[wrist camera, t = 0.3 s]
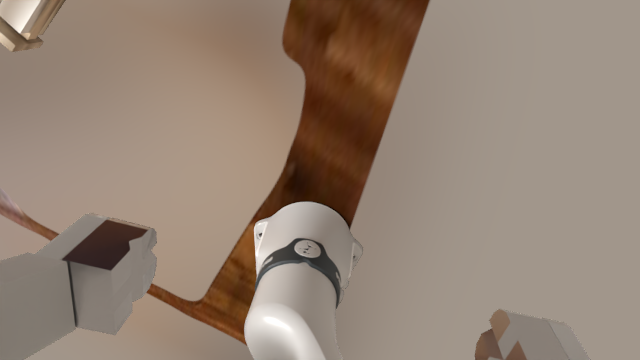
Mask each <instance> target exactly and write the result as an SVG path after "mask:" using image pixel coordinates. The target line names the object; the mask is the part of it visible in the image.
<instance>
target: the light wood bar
mask: <svg viewBox="0 0 640 360" xmlns="http://www.w3.org/2000/svg"><path fill="white" fill-rule="evenodd" d="M64 2H65V0H2V1H1V3H0V16H1V17H2V18H3V19H4V20H5V21H6V22H7V23H8V24H10V25H11V26H12V27H13V28H14V29H15V30H16V31H17V32H18V33H20V34H21V35H22V36H24V37H25V38H26V39H27V40H29V39H36V37H37V36H38V35H42V34H43V33H44V32H45V30H46V29H47V27H48V26H49V24H50V23H51V21H52V20H53V18H54V16H55V15H56V14H57V12H58V11H59V9H60V8H61V6H62V5H63V3H64Z"/></svg>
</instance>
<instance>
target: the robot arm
mask: <svg viewBox="0 0 640 360" xmlns="http://www.w3.org/2000/svg"><path fill="white" fill-rule="evenodd" d="M260 233H262V235H261V234H260ZM254 238H255V253H256V269H257V280H256V284H255V295H254V298H253V301H252V304H251V307H250V310H249V312H248V315H247V318H246V321H245V327H244V333H245V339H246V343H247V345H248V348H249V350H250V352H251V354H252V356H253V358H254V360H343V358H342V356H341V354H340V351H339V348H338V345H337V341H336V327H335V326H336V325H335V318H336V317H335V316H336V309H337V306H338V304H339V303H341V301H342V298H343V295H344V291H343V290H341V288H345V289H346V288H347V287H348V284H349V281H348V280H347V279H348V278H350V277H351V272H352V270H353V269H354V267H355V265H356V263H357V262H358V260H359V259H360V257H361V255H362V252H363V248H362V246H361V244H360V243H359V242H358V241H357V240H356V239H354V238H353V236H352V234H351V232H350V230H349V227H348V225H347V224H346V222H345V221H344V219H343V218H342V217H341V216H340V215H339V214H338V213H337V212H335V211H334V210H333V209H331V208H329V207H327V206H325V205H322V204H319V203H314V202H298V203H293V204H290V205H288V206H285V207H284V208H282V209H280V210H279V211H278V212H277V213H275V214H274V215H273V216H272V217H270V218H266V219H263V220H260V221H258V222H257V223H256V224H255V227H254ZM156 240H157V239H156V231H155V230H154V229H153V228H150V227H146V226H142V225H139V224H135V223H131V222H127V221H123V220H119V219H115V218H109V217H106V216H102V215H98V214H94V213H89V214H85V215H83V216H82V217H81V218H80V219H78V220H77V221H76V222H75V223H73V224H72V225H71V226H69V227H68V228H67V229H66V230H65V231H63V232H62V233H61V234H59V235H58V236H57V237H56V238H54V239H53V240H52V241H51V242H50V243H48V244H47V245H46V246H44V247H43V248H42V249H41V250H39V251H38V252H37V253H36V254H32V253H25V254H21V255H18V256H15V257H12V258H9V259H6V260H2V261H0V360H24V359H26V358H28V357H29V356H31V355H33V354H34V353H36V352H38V351H40V350H41V349H43V348H45V347H46V346H48V345H50V344H52V343H53V342H55V341H57V340H59V339H60V338H62V337H64V336H65V335H67V334H68V333H70V332H72V331H74V330H75V329H76V327H77V328H82V329H88V330H92V331H98V332H102V333H107V334H112V335H116V333H117V332H118V331H119V329H120V328H121V327H122V325H123V324H124V322H125V321H126V319H127V318H128V317H129V316H130V314H131V313H132V302H134V301H136V300H138V299H140V298H142V297H143V296H144V295H145V293H146V292H147V290H148V289H149V287H150V285H151V283H152V280H153V278H154V275H155V270H156V259H157V258H156V257H155V255H154V254H153V252H152V251H151V249H152V248H153V247H154V246H155V244H156V243H157V241H156ZM353 255H355V256H353ZM489 321H490V324H491V327H492V329H490V330H488V331H486V332H484V333H482V334H481V336H480V338H479V340H478V342H477V344H476V350H475V360H590V358H589V356H588V355H587V353H586V352H585V350H584V348H583V347H582V345H581V343H580V342H579V340H578V339H577V337H576V335H575V334H574V332H573V331H572V329H571V328H570V327H569V326H568V325H567V324H566V323H564V322H559V321H555V320H550V319H545V318H538V317H534V316H529V315H525V314H520V313H516V312H511V311H507V310H502V309H498V310H497V311H495V312H494V313H493V315H492V317H491V319H490V320H489Z"/></svg>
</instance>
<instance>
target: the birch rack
mask: <svg viewBox="0 0 640 360" xmlns="http://www.w3.org/2000/svg"><path fill="white" fill-rule="evenodd" d="M0 42H1V43H2V44H3V45H4V46H5V47H6V48H8V49H9V50H10V51H11V52H15V51H22V50H28V49H34V48H39V47H40V46H41V45H42V43H43V41H42V40H41V39H40V38H39V37H38V36H37V37H36V39H29V40H27V39H26V38H25V37H24V36H22V35H21V34H20V33H18V32H17V31H16V30H15V29H14V28H13V27H12V26H11V25H10V24H8V23H7V22H6V21H5V20H4V19H3V18H2V17H1V16H0Z"/></svg>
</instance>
